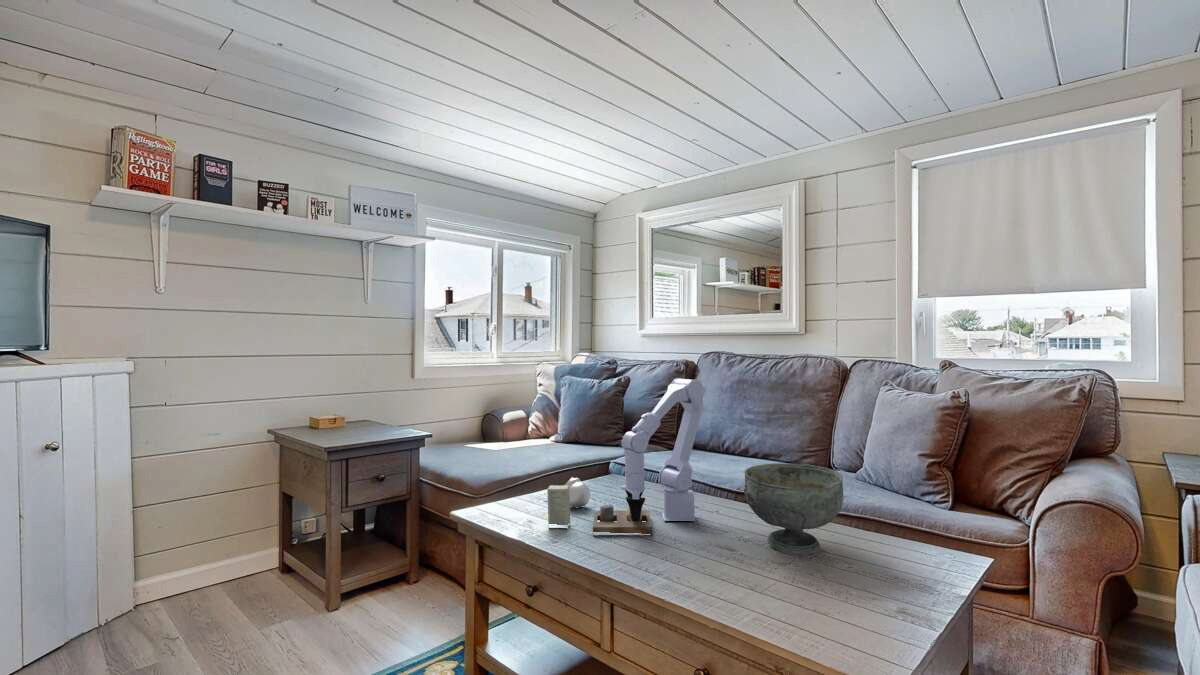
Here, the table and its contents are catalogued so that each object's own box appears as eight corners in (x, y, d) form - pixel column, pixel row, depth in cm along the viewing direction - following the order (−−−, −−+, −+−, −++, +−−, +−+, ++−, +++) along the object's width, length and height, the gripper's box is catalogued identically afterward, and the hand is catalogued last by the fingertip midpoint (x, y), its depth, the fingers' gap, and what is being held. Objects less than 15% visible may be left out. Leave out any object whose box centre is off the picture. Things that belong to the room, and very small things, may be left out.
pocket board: (648, 518, 180) (648, 499, 180) (652, 535, 164) (651, 514, 164) (594, 518, 180) (594, 499, 180) (592, 535, 164) (592, 515, 164)
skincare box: (570, 524, 174) (570, 485, 174) (568, 529, 170) (567, 488, 170) (550, 524, 175) (549, 484, 175) (547, 529, 171) (547, 488, 171)
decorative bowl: (856, 569, 138) (855, 486, 139) (747, 562, 144) (746, 482, 144) (834, 533, 164) (833, 463, 165) (742, 528, 170) (741, 460, 170)
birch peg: (641, 524, 174) (641, 504, 174) (642, 528, 170) (641, 508, 170) (628, 524, 174) (628, 505, 174) (628, 529, 170) (628, 508, 170)
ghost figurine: (578, 502, 199) (578, 473, 199) (595, 508, 192) (595, 478, 192) (557, 507, 193) (557, 477, 193) (574, 513, 186) (574, 482, 186)
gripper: (621, 466, 179) (621, 509, 179) (621, 477, 165) (622, 524, 165) (643, 466, 179) (644, 509, 179) (646, 477, 165) (646, 524, 165)
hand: (635, 516), depth 172 cm, fingers open, 7 cm apart
